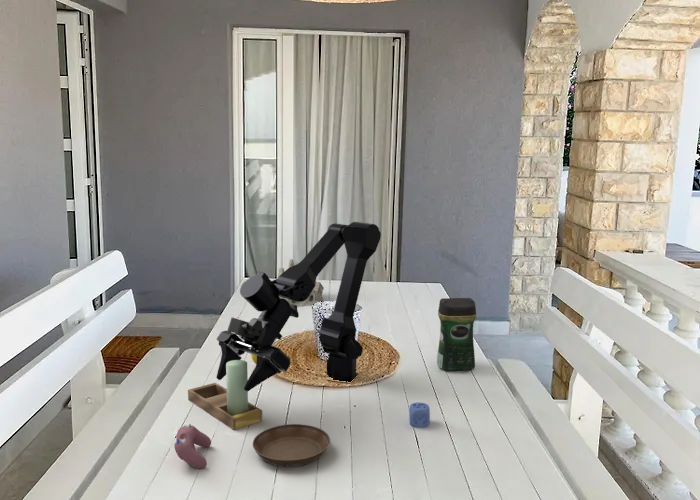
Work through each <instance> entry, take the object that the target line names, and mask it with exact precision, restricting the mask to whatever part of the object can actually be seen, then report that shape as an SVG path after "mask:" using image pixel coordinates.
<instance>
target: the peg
mask: <svg viewBox="0 0 700 500" xmlns="http://www.w3.org/2000/svg"><path fill="white" fill-rule="evenodd" d="M225 376H226V389H227V413H228V414H230V415H231V416H235V415H238V414H241V413H245V412H248V402H249V391H248V392H247V391H245V390H244V387H245V385H246V383H247V381H248V379H249V377H248V376H249V375H248V361H246V360H243V359H241V360H233V361H229V362H227V363H226V375H225Z"/></svg>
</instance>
